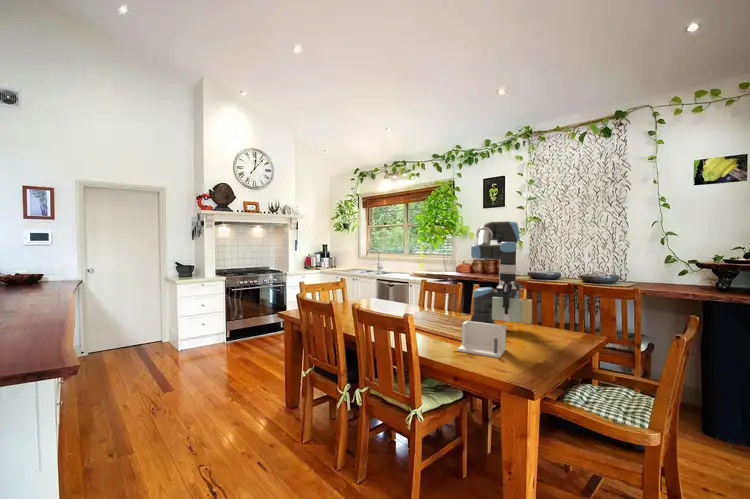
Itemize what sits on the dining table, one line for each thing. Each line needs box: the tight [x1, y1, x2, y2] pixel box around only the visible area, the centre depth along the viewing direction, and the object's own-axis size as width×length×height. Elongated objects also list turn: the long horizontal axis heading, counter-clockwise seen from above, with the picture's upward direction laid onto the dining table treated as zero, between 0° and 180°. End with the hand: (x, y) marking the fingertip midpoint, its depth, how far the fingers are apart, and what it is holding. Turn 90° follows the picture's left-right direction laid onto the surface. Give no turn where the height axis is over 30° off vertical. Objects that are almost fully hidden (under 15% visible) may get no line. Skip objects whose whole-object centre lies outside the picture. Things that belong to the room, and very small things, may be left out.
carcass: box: [457, 320, 507, 359], centre depth 181 cm, size 14×20×12 cm
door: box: [492, 297, 533, 325], centre depth 182 cm, size 5×18×11 cm, turn 61°
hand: (507, 319), depth 183 cm, fingers closed on door, 3 cm apart
